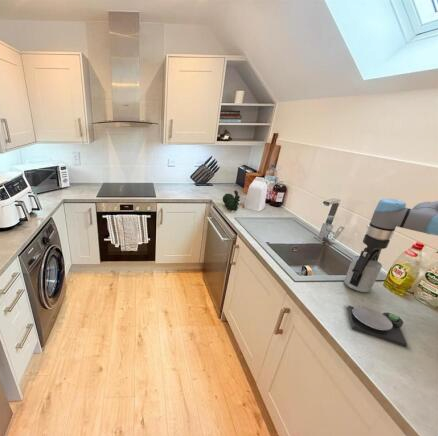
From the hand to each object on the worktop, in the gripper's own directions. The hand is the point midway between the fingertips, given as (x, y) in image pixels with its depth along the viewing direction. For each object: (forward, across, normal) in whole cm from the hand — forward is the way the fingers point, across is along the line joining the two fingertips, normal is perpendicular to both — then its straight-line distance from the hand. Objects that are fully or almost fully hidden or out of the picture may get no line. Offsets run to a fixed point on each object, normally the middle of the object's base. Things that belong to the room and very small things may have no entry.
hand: (358, 281), depth 105 cm
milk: (+2, -44, -90) cm, 100 cm away
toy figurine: (+2, -25, -99) cm, 102 cm away
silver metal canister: (+2, 0, 0) cm, 2 cm away
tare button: (+1, +14, +16) cm, 21 cm away
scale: (+4, +20, +13) cm, 24 cm away
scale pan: (0, +21, +12) cm, 24 cm away
